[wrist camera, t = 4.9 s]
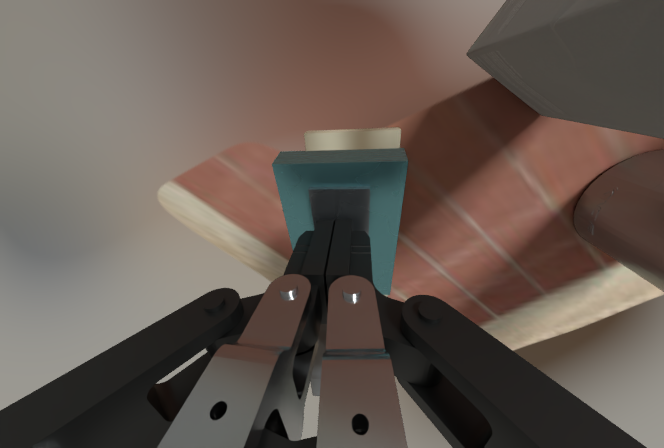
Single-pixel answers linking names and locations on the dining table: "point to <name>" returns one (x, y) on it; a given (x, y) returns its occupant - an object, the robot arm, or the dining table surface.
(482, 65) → the skincare box
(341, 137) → the cracker base
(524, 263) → the dining table surface
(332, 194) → the lever
